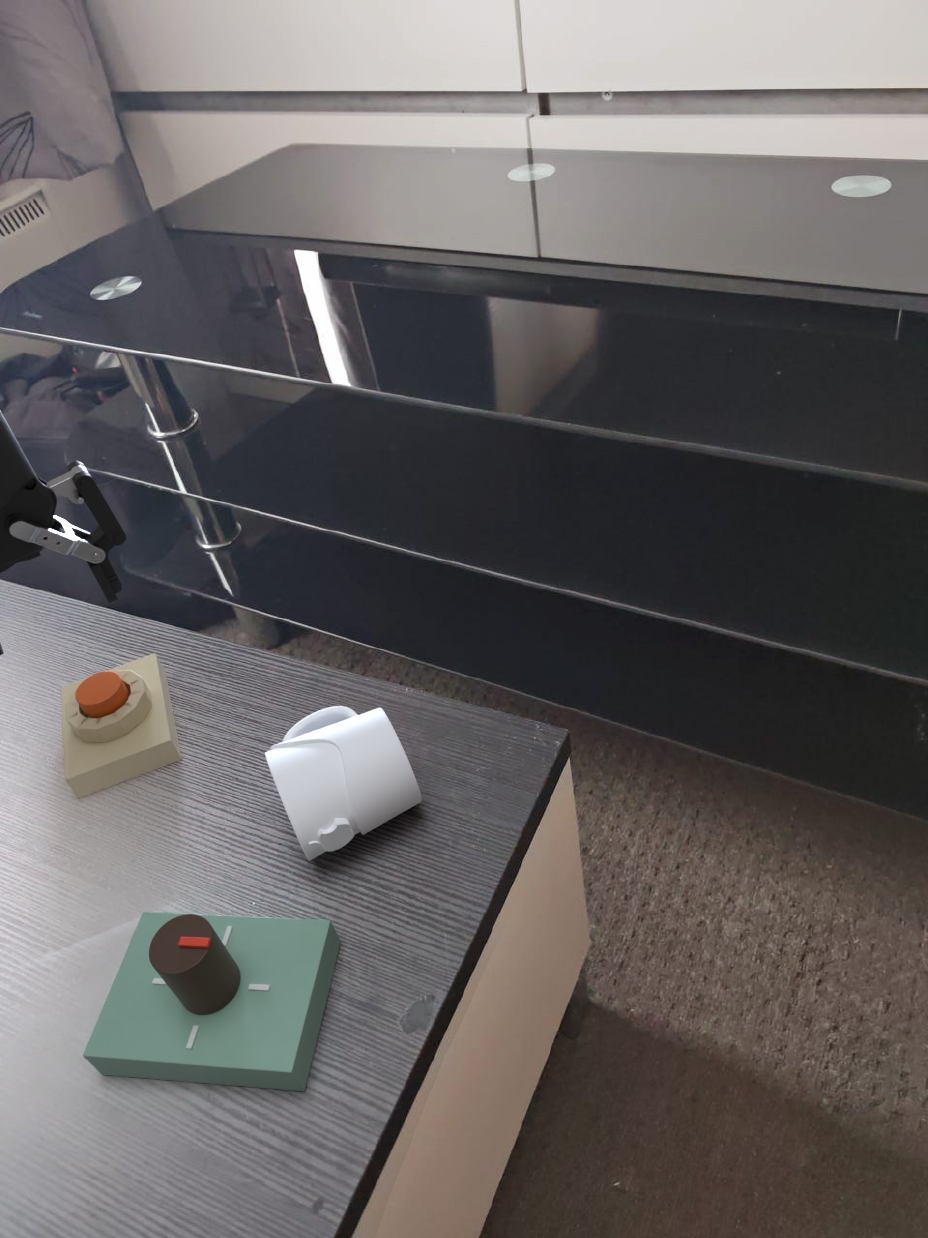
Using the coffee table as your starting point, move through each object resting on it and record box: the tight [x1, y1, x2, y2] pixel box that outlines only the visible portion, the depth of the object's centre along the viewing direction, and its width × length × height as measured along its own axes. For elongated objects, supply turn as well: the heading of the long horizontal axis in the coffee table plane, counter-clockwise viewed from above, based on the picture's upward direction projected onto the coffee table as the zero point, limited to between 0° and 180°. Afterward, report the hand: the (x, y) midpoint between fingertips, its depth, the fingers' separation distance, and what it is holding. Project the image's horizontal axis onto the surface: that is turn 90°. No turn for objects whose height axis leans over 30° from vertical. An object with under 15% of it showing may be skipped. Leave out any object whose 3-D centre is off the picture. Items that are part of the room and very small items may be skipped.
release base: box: [59, 653, 183, 799], centre depth 81 cm, size 12×9×4 cm
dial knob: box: [149, 913, 240, 1015], centre depth 58 cm, size 4×4×6 cm
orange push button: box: [75, 670, 129, 718], centre depth 79 cm, size 4×4×2 cm
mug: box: [264, 705, 422, 862], centre depth 70 cm, size 12×9×8 cm
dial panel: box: [82, 911, 342, 1092], centre depth 61 cm, size 14×10×3 cm
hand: (55, 623), depth 67 cm, fingers open, 8 cm apart
